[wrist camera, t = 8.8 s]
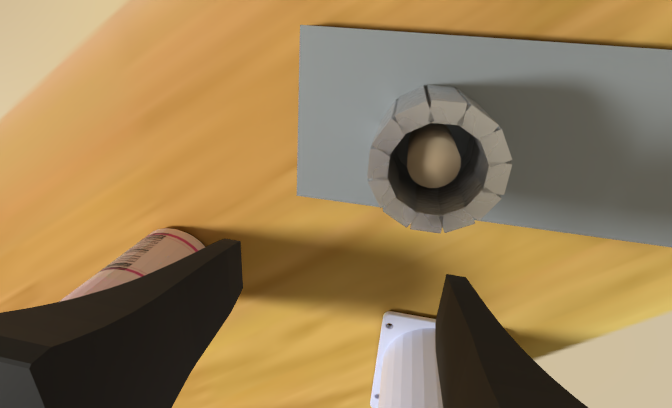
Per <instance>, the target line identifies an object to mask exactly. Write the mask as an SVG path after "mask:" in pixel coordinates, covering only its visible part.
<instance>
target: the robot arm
mask: <svg viewBox="0 0 672 408" xmlns="http://www.w3.org/2000/svg"><path fill="white" fill-rule="evenodd" d="M242 289H243V280H242V262H241V243H240V241H236V240H230V239H222V240H220V241H217V242H215V243H213V244H211V245H209V246H207V247H205V248H203V249H201V250H199V251H197V252H195V253H193V254H191V255H189V256H186V257H184V258H182V259H180V260H178V261H176V262H174V263H172V264H170V265H167V266H165V267H163V268H161V269H158V270H156V271H154V272H152V273H149V274H147V275H145V276H142V277H140V278H137V279H134V280H132V281H129V282H126V283H123V284H120V285H118V286H115V287H112V288H109V289H105V290H102V291H98V292H95V293H91V294H88V295H84V296H81V297H77V298H73V299H69V300H65V301H61V302H57V303H52V304H47V305H43V306H38V307H33V308H27V309H21V310H15V311H9V312H3V313H0V408H172V406H173V404H174V402H175V400H176V398H177V396H178V394H179V393H180V391H181V389H182V387H183V385H184V383H185V382H186V380H187V378H188V376H189V374H190V373H191V371H192V369H193V368H194V366H195V365H196V363H197V362H198V360H199V359H200V357H201V356H202V354H203V353H204V351H205V350H206V348H207V347H208V345H209V344H210V342H211V341H212V339H213V338H214V337H215V335H216V334H217V332H218V331H219V329H220V328H221V326H222V325H223V323H224V322H225V320H226V319H227V317H228V316H229V314H230V313H231V311H232V309H233V307H234V305H235V303H236V301H237V299H238V297H239V295H240V293H241V291H242ZM387 323H391V324H392V325H388V324H387ZM378 394H379V395H378ZM370 406H371V407H372V408H588V407H587V406H585V405H584V404H583V403H581V402H580V401H579V400H578V399H576V398H575V397H574V396H573V395H572V394H570V393H569V392H568V391H567V390H565V389H564V388H563V387H562V386H561V385H560V384H558V383H557V382H556V381H555V380H554V379H553V378H552V377H551V376H549V375H548V374H547V373H546V372H545V371H544V370H543V369H542V368H541V367H540V366H539V365H538V364H537V363H536V362H535V361H534V360H533V359H532V358H531V357H530V356H529V355H528V354H527V353H526V352H525V351H524V350H523V349H522V348H521V347H520V346H519V345H518V344H517V343H516V342H515V341H514V339H513V338H512V337H511V336H510V335H509V334H508V333H507V331H506V330H505V329H504V328H503V327H502V326H501V324H500V323H499V322H498V321H497V319H496V318H495V317H494V315H493V314H492V313H491V312H490V310H489V309H488V308H487V306H486V305H485V304H484V302H483V301H482V299H481V298H480V297H479V295H478V294H477V292H476V291H475V290H474V288H473V287H472V285H471V284H470V283H469V281H468V280H467V278H466V277H460V276H454V275H448V274H446V279H445V283H444V287H443V292H442V296H441V300H440V305H439V309H438V313H437V318H436V319H432V318H426V317H421V316H415V315H409V314H404V313H398V312H393V311H388V312H386V313H384V315H383V321H382V328H381V334H380V341H379V347H378V354H377V361H376V367H375V374H374V380H373V387H372V394H371V400H370Z"/></svg>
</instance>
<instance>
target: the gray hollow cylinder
mask: <svg viewBox="0 0 672 408" xmlns="http://www.w3.org/2000/svg"><path fill="white" fill-rule="evenodd" d="M429 123H440V124H450V125H459V126H461V127H462V128H463V129H465V130H466V131H467V132H469V133H470V139H469V143H468V148H467V153H466V154H465V155H464V156H463V157H462V159H461V166H460V170H459V172H458V174H457V176H456V177H455V178H454V179H453V180H452V181H451V182H450V183H449V184H447V185H445V186H442V187H438V188H427V187H424V186H421V185H419V184H418V183H416V182H415V181H414V180H413V179H412V178H411V176H410V174H409V172H408V168H407V166H406V165H404V164H403V163H402V162H401V161H400V159H399V157H398V155H397V152H396V150H395V147H396V146H397V145H398V143H399V142H400V141H401V139H402V138H403V137H404V136H405V134H406V133H408V132H411V131H413V130H415V129H418V128H420V127H422V126H425V125H427V124H429ZM510 160H512V157H511V154H510V151H509V148H508V146H507V143H506V140H505V137H504V134H503V131H502V129H501V128H500V127H499V125H498V124H497V123H496V122H495V121H494V120H493V119H492V118H491V117H490V116H489V114H488V113H487V112H486V111H485V110H484V109H483V108H482V107H481V106H480V105H479V104H478V103H476V102H475V101H474V100H472V99H471V98H470V97H468V96H467V95H466V94H464V93H463V92H462V91H460V90H459V89H458V88H456V89H455V88H454V87H452V86H440V85H427V88H426V91H425V88H424V85H423V86H420V87H418V88H416V89H414V90H412V91H410V92H408V93H405V94H403V95H401V96H399V100H398V99H396V100H395V101H394V103H393V104H392V106H391V107H390V108H389V110H388V111H387V113H386V114H385V115H384V117H383V118H382V120H381V122H380V125H379V127H378V130H377V132H376V135H375V137H374V140H373V142H372V145H371V148H370V154H369V164H368V174H367V178H369V180H368V184H369V186H370V188H371V190H372V192H373V194H374V196H375V198H376V200H377V202H378V205H379V207H380V208H381V207H383V212H385V213H386V214H388V215H389V216H391V217H392V218H393V219H395V220H396V221H398V222H399V223H401V224H402V225H404V226H405V227H406V228H407V227H408V226H409V224H410V223H411V228H410V229H413V230H420V231H427V232H434V233H441V229H442V227H443V230H444V232H445V233H447V232H450V231H453V230H456V229H459V228H462V227H465V226H469V225H472V224H475V222H474V219H473V217H474V218H475V219H477V220H478V221H480V220H481V219H482V218H483V217H484V216H485V215H486V214H487V213H488V212H489V211H490V210H491V209H492V208H493V207H494V206H495V205H496V204H497V203H498V202H499V201H500V200H501V199H502V198H501V197H500V195H504V193H505V190H506V186H507V182H508V179H509V175H510V171H511V168H512V163H511V162H510ZM499 194H500V195H499Z"/></svg>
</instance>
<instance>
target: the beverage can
mask: <svg viewBox="0 0 672 408" xmlns="http://www.w3.org/2000/svg"><path fill="white" fill-rule="evenodd" d="M203 248H205V246H204V245H203V244H202V243H201V242H200V241H199V240H197V239H196V238H195V237H193V236H192V235H190V234H188V233H186V232H183V231H180V230H177V229H170V228H165V229H159V230H156V231H153V232H152V233H150V234H149V235H148V236H146V237H145V238H144V239H142V240H141V241H140V242H138V243H137V244H136V245H134V246H133V247H132V248H130V249H129V250H128V251H126V252H125V253H124V254H122V255H121V256H120V257H118V258H117V259H116V260H114V261H113V262H111V263H110V264H109V265H107V266H106V267H105V268H103V269H102V270H101V271H99V272H98V273H97V274H95V275H94V276H93V277H91V278H90V279H89V280H87V281H86V282H85V283H83V284H82V285H81V286H79V287H78V288H77V289H75V290H74V291H73V292H71V293H70V294H69V295H67V296H66V297H65V298H63V299H62V300H61V301H65V300H69V299H73V298H77V297H81V296H84V295H88V294H91V293H95V292H98V291H102V290H105V289H109V288H112V287H115V286H118V285H120V284H123V283H126V282H129V281H132V280H134V279H137V278H140V277H142V276H145V275H147V274H149V273H152V272H154V271H156V270H158V269H161V268H163V267H165V266H167V265H170V264H172V263H174V262H176V261H178V260H180V259H182V258H184V257H186V256H189V255H191V254H193V253H195V252H197V251H199V250H201V249H203ZM61 301H59V302H61Z"/></svg>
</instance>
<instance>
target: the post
mask: <svg viewBox="0 0 672 408" xmlns="http://www.w3.org/2000/svg"><path fill="white" fill-rule="evenodd" d="M460 166H461V158H460V154H459V152H458V149H457V147H456V144H455V142H454V139H453V137H452V134H451V132H450V130H449V129H448V128H447V126H445V125H444V124H440V123H429V124H427V125H425V126H422V127H420V128H418V129H415V130H413V131H412V132H411V134H410V136H409V140H408V157H407V168H408V172H409V174H410V176H411V178H412V179H413V180H414V181H415V182H416V183H418V184H419V185H421V186H424V187H427V188H438V187H442V186H445V185H447V184H449V183H450V182H451V181H452V180H453V179H454V178H455V177H456V176H457V174H458V172H459V170H460Z"/></svg>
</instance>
